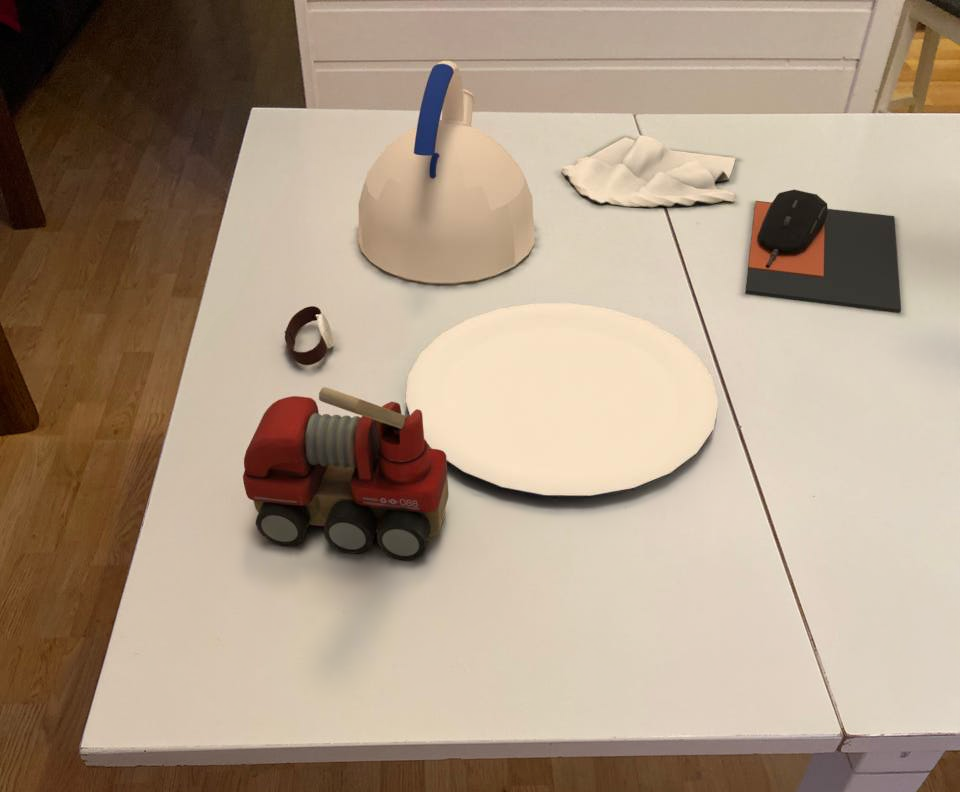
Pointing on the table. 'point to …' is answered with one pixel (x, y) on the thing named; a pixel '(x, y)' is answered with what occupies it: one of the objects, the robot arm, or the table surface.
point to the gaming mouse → (792, 222)
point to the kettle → (445, 196)
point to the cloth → (650, 175)
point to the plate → (562, 399)
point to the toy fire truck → (346, 475)
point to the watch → (324, 328)
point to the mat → (832, 263)
